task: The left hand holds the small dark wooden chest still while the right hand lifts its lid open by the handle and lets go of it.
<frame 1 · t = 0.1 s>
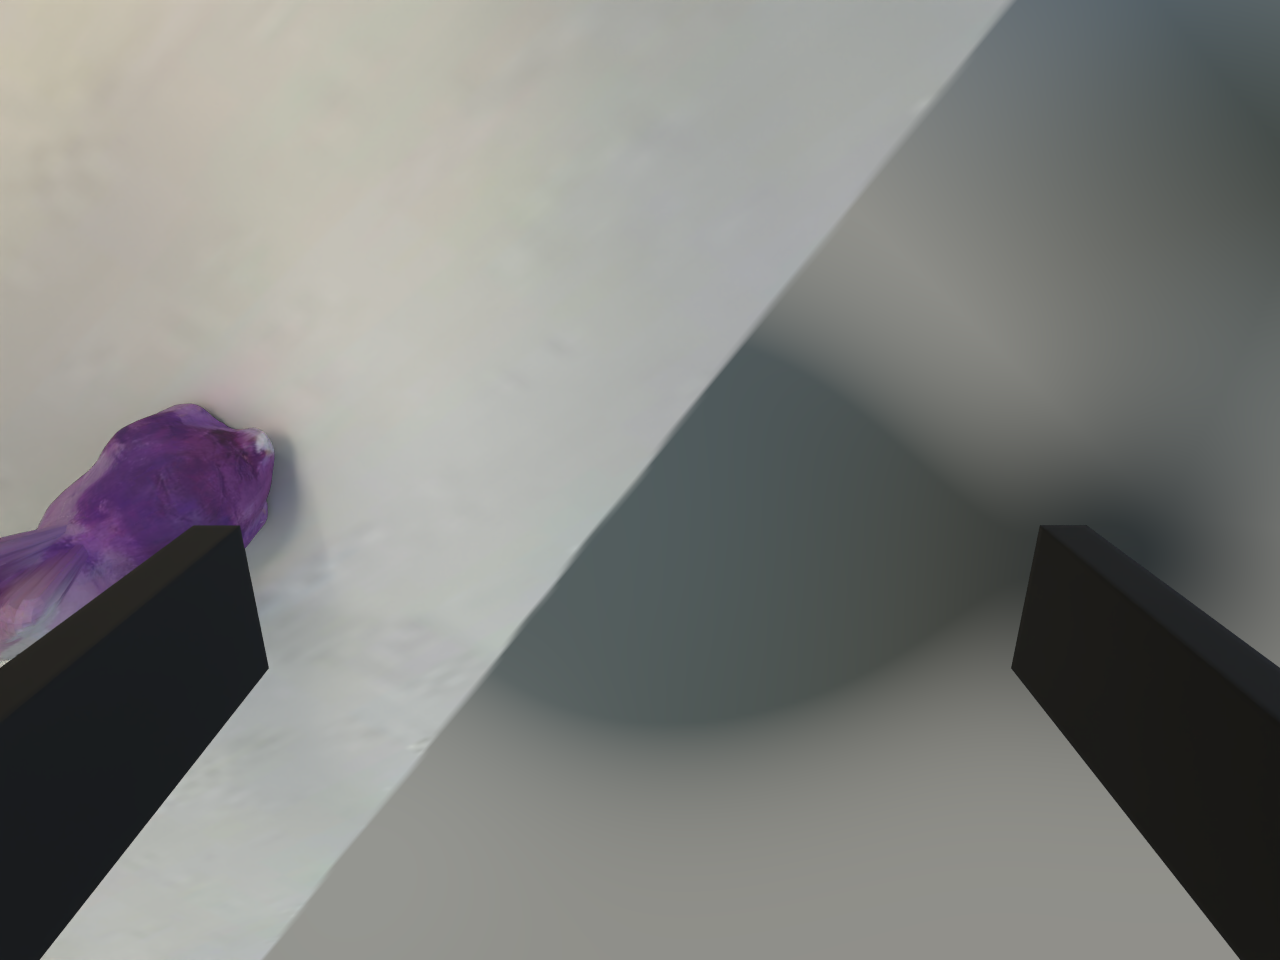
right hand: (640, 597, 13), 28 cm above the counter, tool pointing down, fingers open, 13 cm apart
figurine: (200, 487, 42), on the counter
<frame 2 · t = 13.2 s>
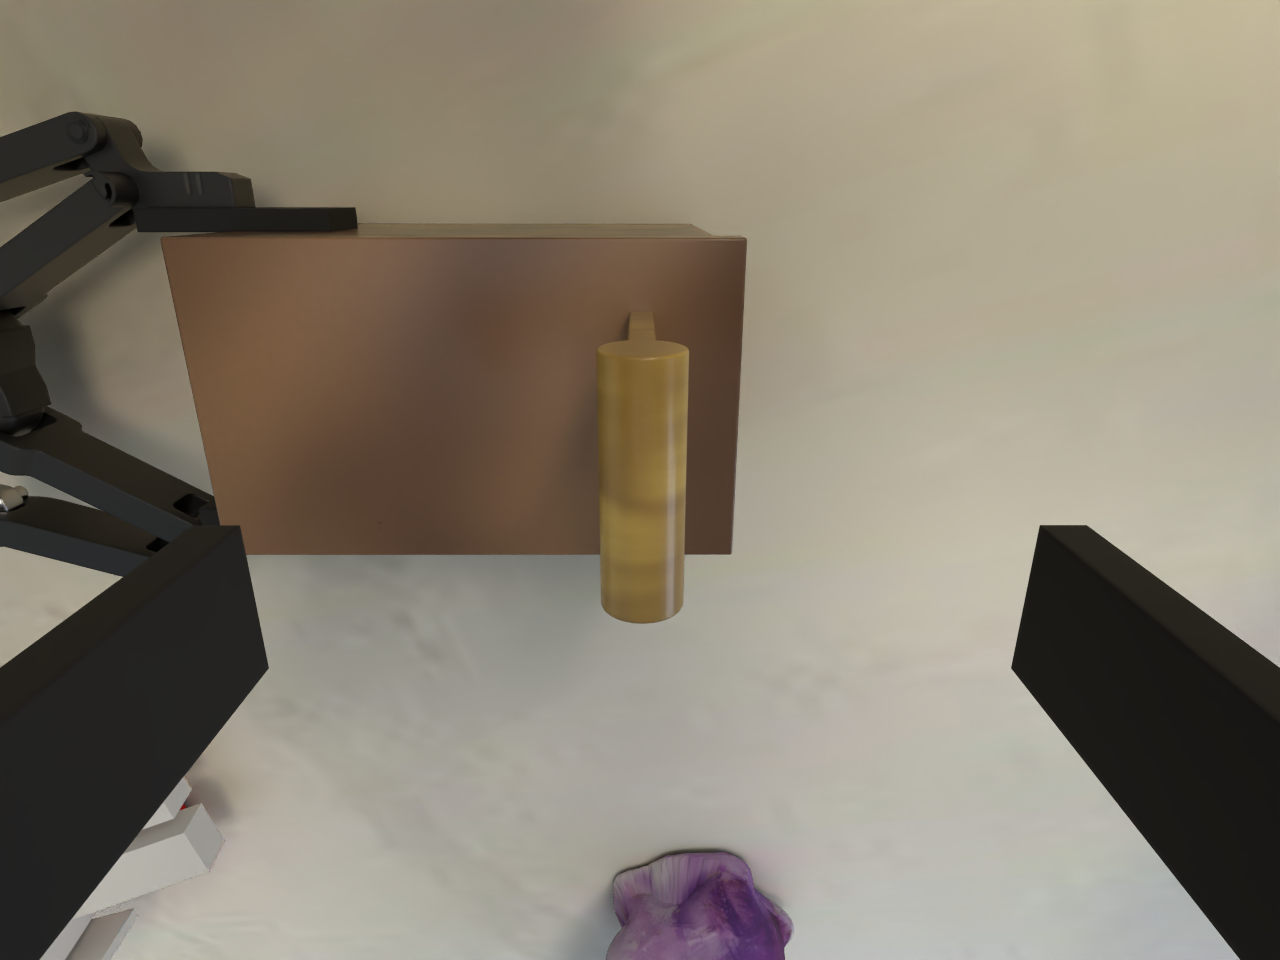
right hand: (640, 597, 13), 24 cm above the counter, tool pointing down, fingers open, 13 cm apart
left hand: (363, 371, 29), fingers closed on chest, 10 cm apart
chest: (511, 341, 35), on the counter, touching left hand
lid: (442, 439, 21), point 15 cm above the counter, hinge at 0.0°
figurine: (683, 898, 47), on the counter
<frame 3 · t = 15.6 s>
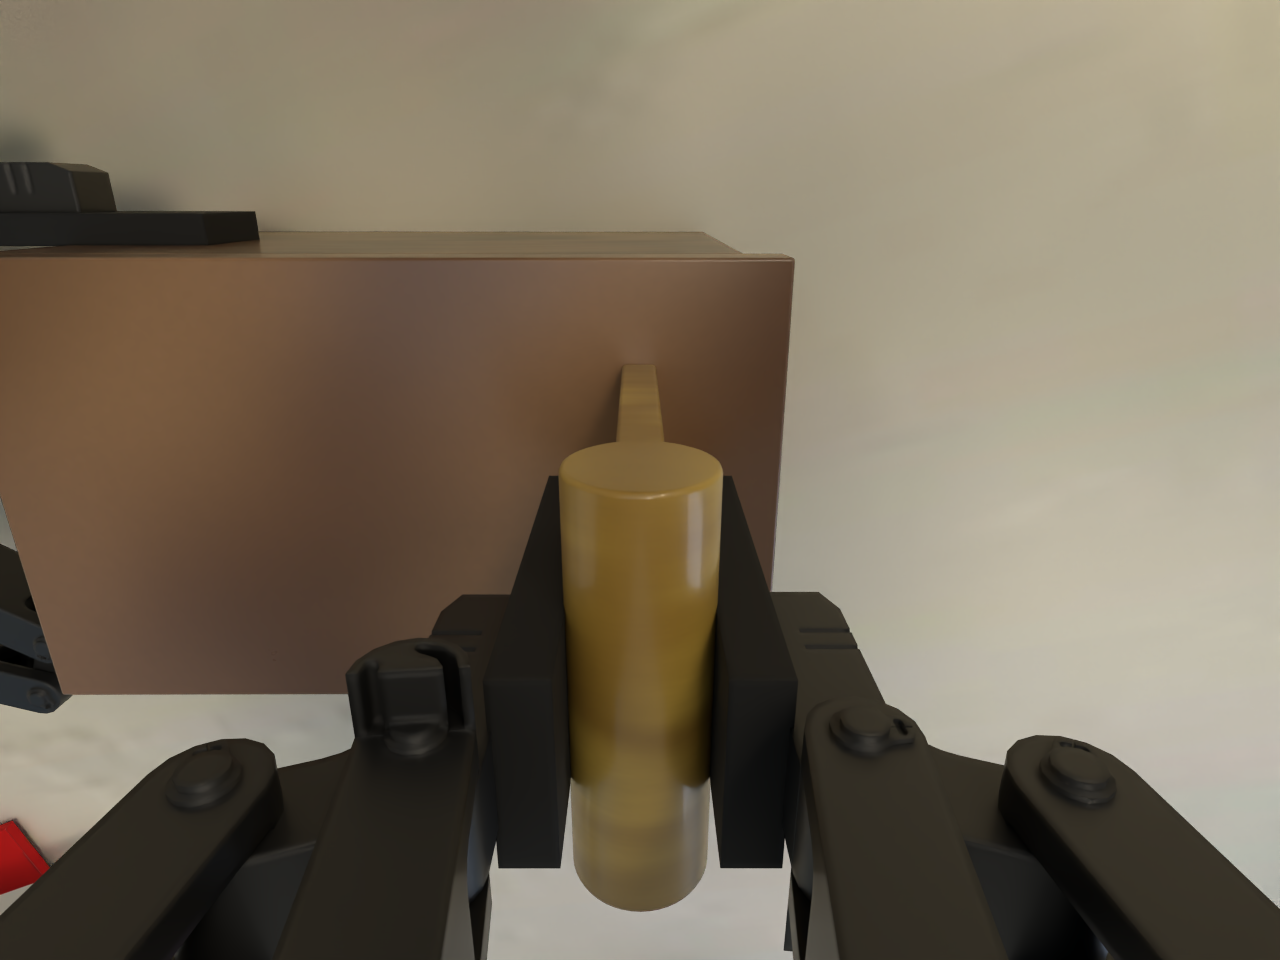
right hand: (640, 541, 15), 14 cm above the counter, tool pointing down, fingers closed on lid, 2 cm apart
chest: (476, 379, 28), on the counter, touching left hand
lid: (335, 567, 14), point 15 cm above the counter, hinge at -0.1°, touching right hand
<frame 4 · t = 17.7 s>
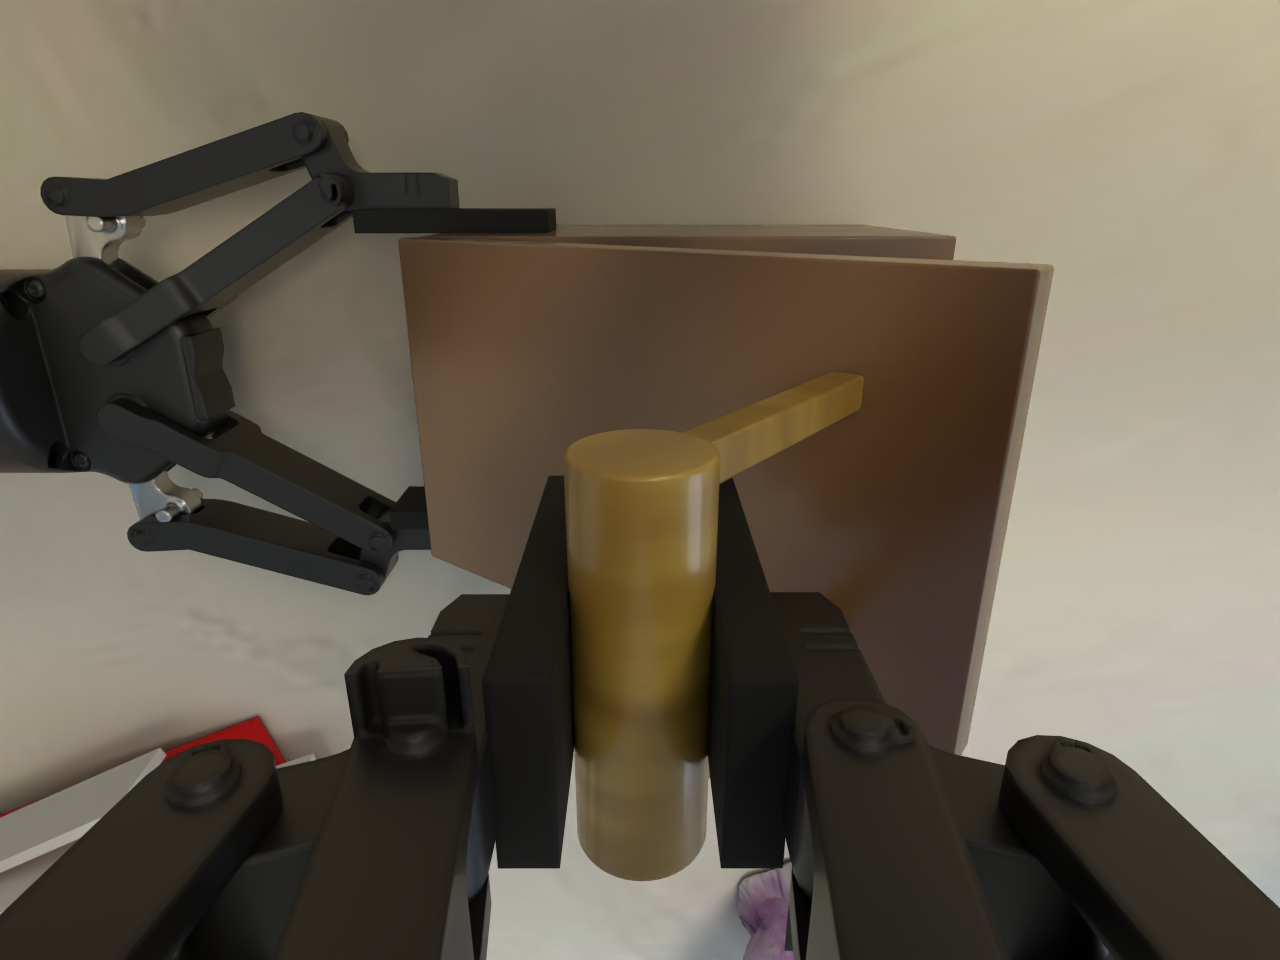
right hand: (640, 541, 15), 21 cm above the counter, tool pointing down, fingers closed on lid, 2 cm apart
left hand: (557, 373, 29), fingers closed on chest, 10 cm apart
chest: (674, 343, 35), on the counter, touching left hand
lid: (537, 501, 17), point 19 cm above the counter, hinge at 36.6°, touching right hand
toy: (123, 818, 44), on the counter
figurine: (807, 902, 47), on the counter
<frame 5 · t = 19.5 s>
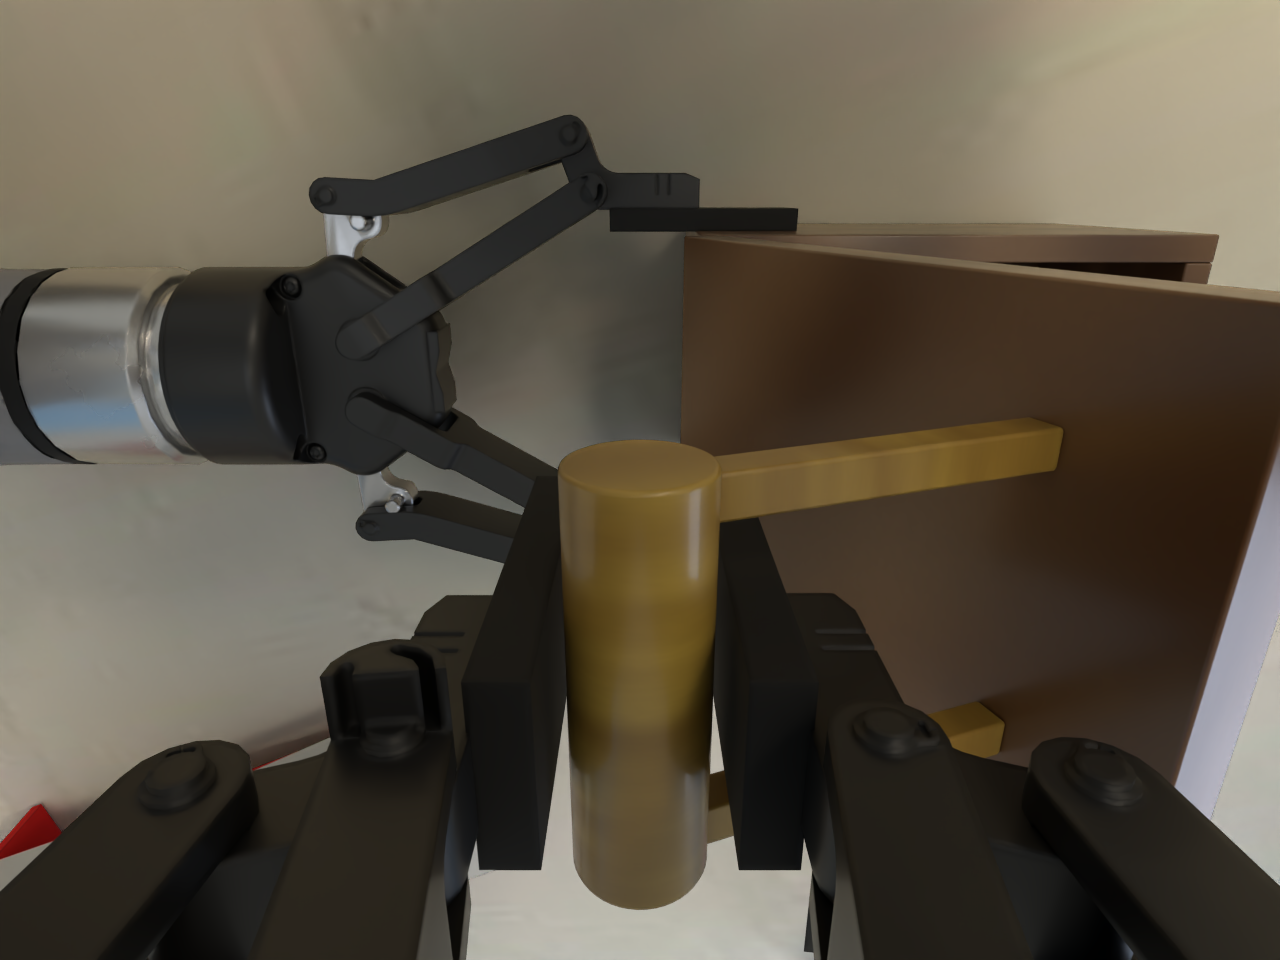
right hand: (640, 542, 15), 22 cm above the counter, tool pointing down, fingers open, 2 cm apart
left hand: (780, 367, 29), fingers closed on chest, 10 cm apart
chest: (858, 339, 35), on the counter, touching left hand
lid: (699, 504, 16), point 20 cm above the counter, hinge at 68.6°
toy: (276, 805, 45), on the counter
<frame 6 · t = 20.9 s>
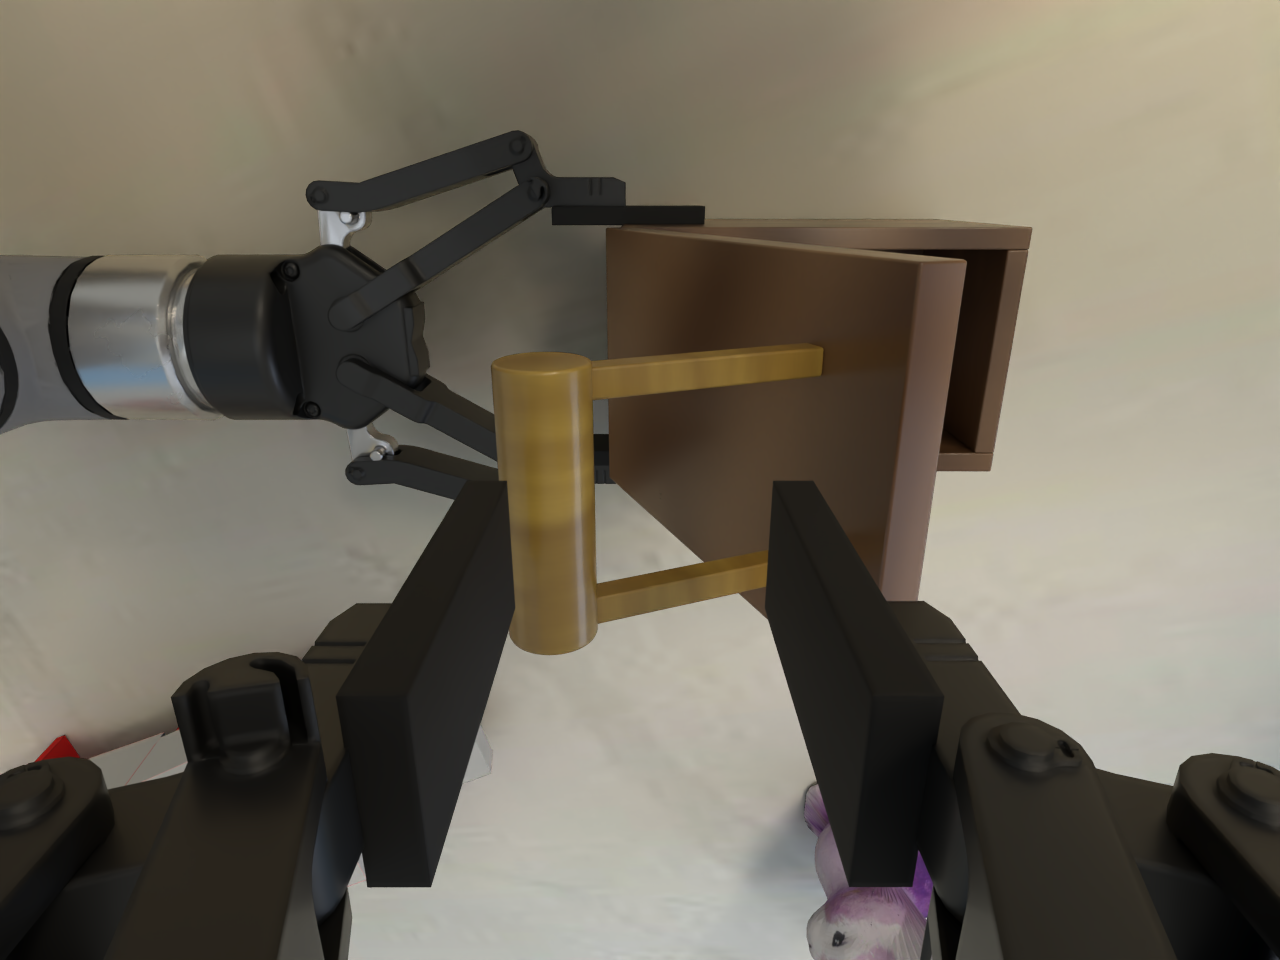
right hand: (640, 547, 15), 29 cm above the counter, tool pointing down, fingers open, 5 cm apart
left hand: (698, 338, 36), fingers closed on chest, 10 cm apart
chest: (775, 318, 41), on the counter, touching left hand
lid: (606, 422, 22), point 20 cm above the counter, hinge at 66.6°
toy: (274, 735, 51), on the counter
figurine: (864, 808, 54), on the counter
when the left hand's fingers open (6 cm above the counter, at t = 23.5 s): chest stays where it is, on the counter.
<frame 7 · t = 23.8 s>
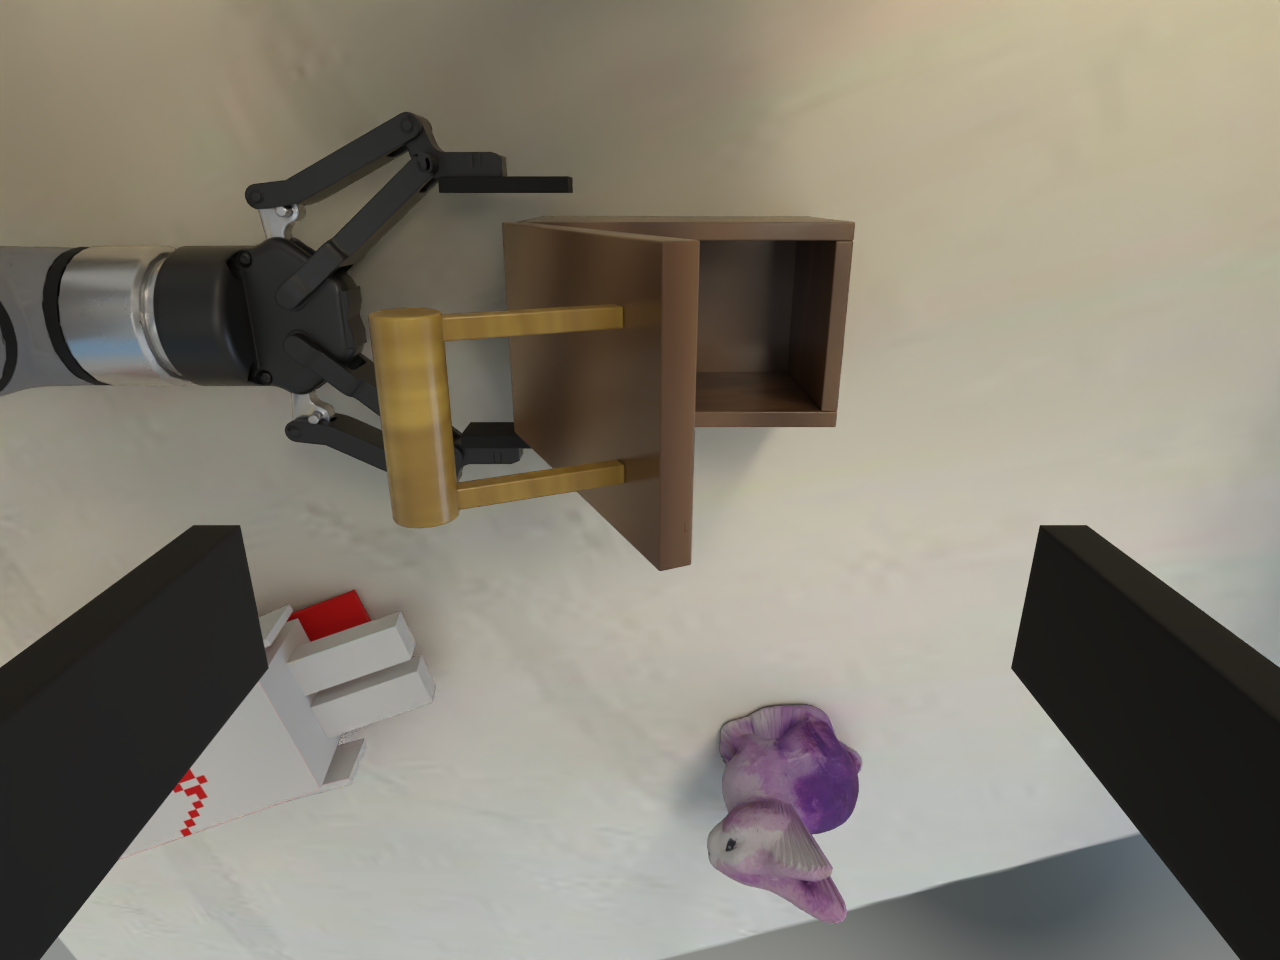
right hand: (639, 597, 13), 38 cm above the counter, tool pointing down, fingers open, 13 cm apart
left hand: (575, 317, 42), fingers open, 13 cm apart
chest: (674, 302, 48), on the counter
lid: (485, 372, 29), point 20 cm above the counter, hinge at 65.5°
toy: (247, 674, 58), on the counter
figurine: (774, 745, 60), on the counter
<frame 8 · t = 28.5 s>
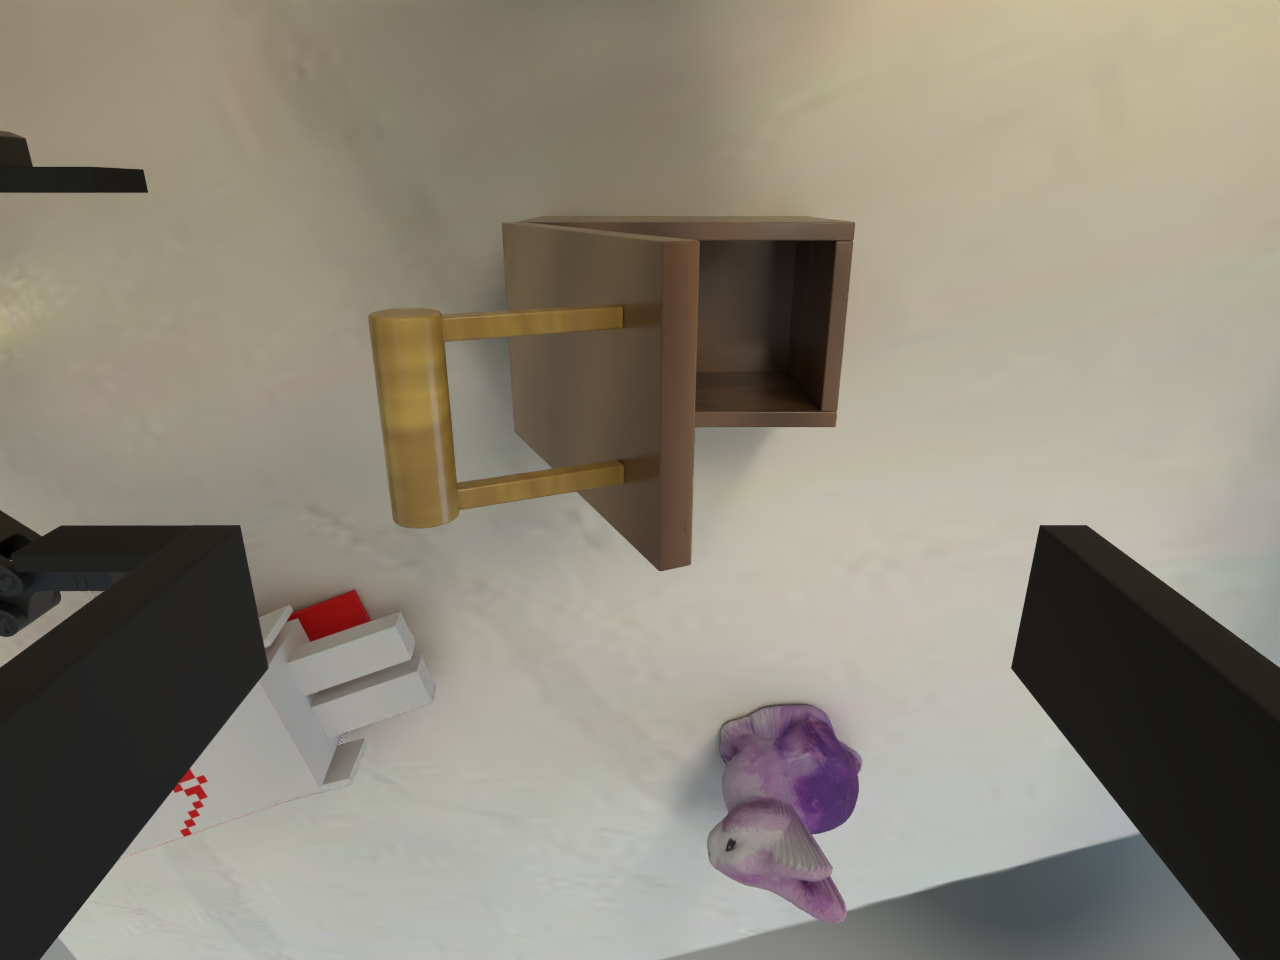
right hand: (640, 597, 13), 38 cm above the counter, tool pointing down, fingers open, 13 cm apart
chest: (674, 302, 48), on the counter
lid: (485, 372, 29), point 20 cm above the counter, hinge at 65.5°
toy: (247, 674, 58), on the counter
figurine: (774, 745, 60), on the counter
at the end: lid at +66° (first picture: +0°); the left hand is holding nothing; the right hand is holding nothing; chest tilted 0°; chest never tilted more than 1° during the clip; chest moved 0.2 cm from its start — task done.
